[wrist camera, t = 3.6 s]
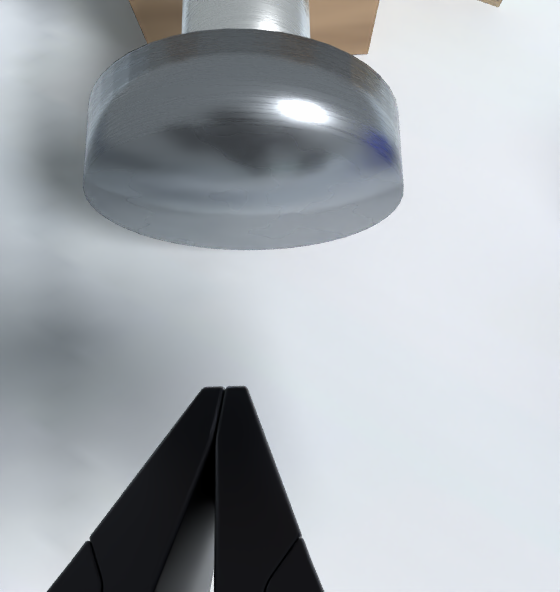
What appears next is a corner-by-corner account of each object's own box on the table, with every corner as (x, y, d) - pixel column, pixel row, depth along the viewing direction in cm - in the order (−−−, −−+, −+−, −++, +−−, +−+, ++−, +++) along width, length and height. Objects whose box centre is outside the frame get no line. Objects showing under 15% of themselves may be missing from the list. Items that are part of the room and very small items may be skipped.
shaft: (374, 247, 16) (448, 118, 8) (144, 252, 17) (7, 132, 9) (358, -49, 19) (404, -368, 11) (155, -41, 19) (55, -346, 11)
